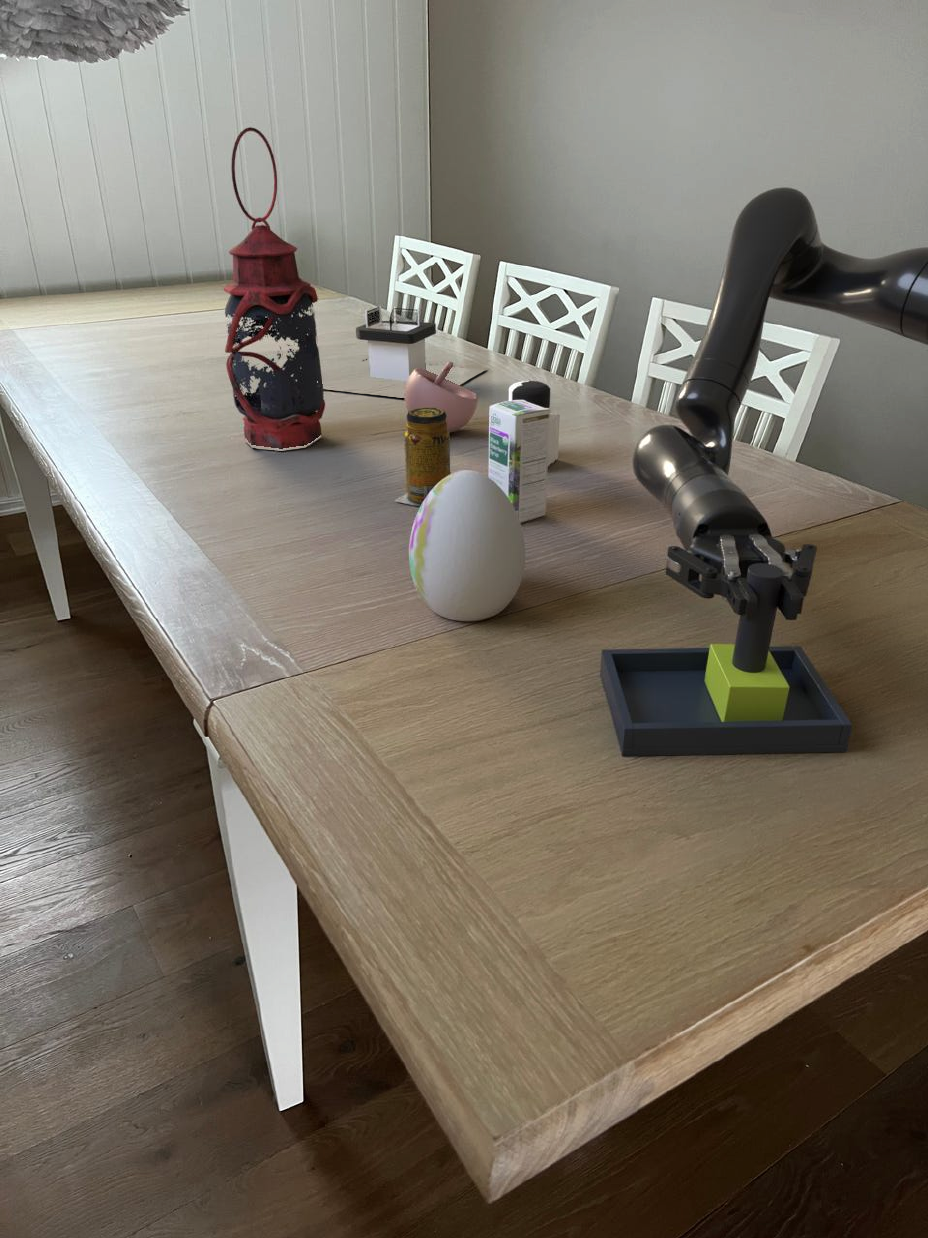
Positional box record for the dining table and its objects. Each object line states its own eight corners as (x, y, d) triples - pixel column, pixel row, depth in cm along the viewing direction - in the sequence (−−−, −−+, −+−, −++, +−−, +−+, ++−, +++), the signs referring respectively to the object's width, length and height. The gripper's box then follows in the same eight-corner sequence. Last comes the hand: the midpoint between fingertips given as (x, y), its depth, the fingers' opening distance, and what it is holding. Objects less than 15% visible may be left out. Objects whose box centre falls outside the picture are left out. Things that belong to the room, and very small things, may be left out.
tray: (795, 671, 87) (800, 645, 86) (846, 752, 76) (852, 724, 75) (599, 674, 87) (601, 649, 86) (622, 756, 76) (624, 728, 75)
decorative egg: (449, 570, 107) (446, 445, 100) (543, 594, 102) (548, 464, 95) (388, 614, 98) (381, 480, 91) (489, 643, 93) (489, 503, 85)
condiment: (420, 485, 132) (417, 402, 126) (473, 494, 128) (472, 409, 122) (393, 502, 126) (389, 416, 120) (448, 512, 123) (446, 424, 117)
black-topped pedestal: (488, 369, 189) (488, 302, 183) (432, 403, 168) (430, 327, 162) (368, 358, 199) (364, 293, 193) (301, 387, 179) (295, 316, 172)
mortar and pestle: (486, 439, 150) (486, 368, 144) (414, 446, 147) (411, 374, 141) (468, 418, 160) (467, 351, 154) (400, 424, 157) (396, 356, 152)
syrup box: (485, 512, 123) (486, 404, 116) (521, 502, 125) (523, 396, 118) (512, 526, 118) (514, 415, 111) (547, 515, 121) (552, 406, 114)
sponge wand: (758, 681, 84) (783, 552, 78) (781, 726, 78) (810, 590, 72) (704, 681, 84) (724, 551, 78) (722, 726, 78) (746, 589, 72)
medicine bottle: (558, 459, 141) (562, 380, 135) (540, 473, 135) (542, 392, 129) (516, 452, 144) (517, 375, 138) (496, 466, 138) (496, 386, 132)
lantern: (300, 459, 142) (267, 127, 120) (217, 450, 146) (171, 128, 124) (343, 429, 155) (320, 125, 133) (266, 422, 159) (232, 126, 137)
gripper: (648, 489, 87) (690, 569, 72) (796, 486, 87) (870, 566, 72) (641, 561, 90) (680, 652, 75) (783, 559, 91) (851, 649, 75)
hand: (773, 609), depth 74 cm, fingers closed on sponge wand, 2 cm apart
